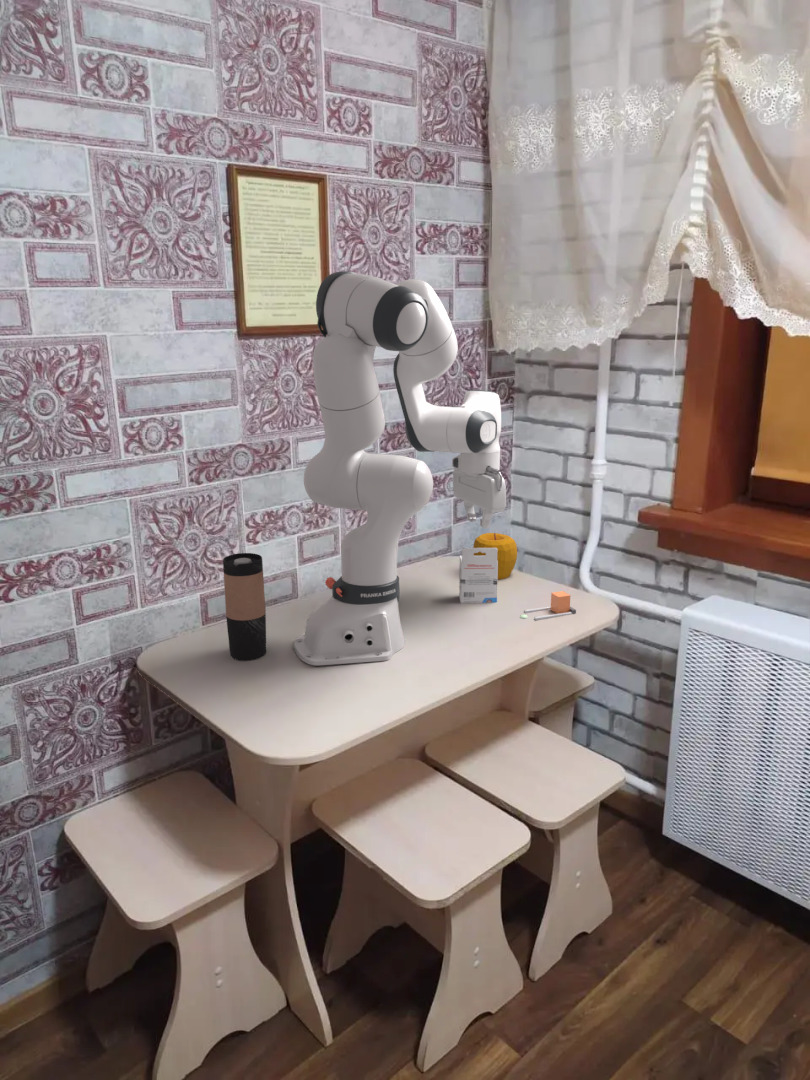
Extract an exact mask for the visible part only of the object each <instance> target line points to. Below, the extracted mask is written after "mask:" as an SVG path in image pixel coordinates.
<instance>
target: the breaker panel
mask: <svg viewBox="0 0 810 1080" xmlns="http://www.w3.org/2000/svg"><path fill="white" fill-rule="evenodd" d="M546 610H551V605H550V606H544V607H537V608H529V609H524V610H523V612H524V613H525V614H521V615H520V616H519V618H520V619H528V617H529V616H528V615H527V614H530V613H535V612H536V613H537V612H541V611H546ZM576 614H577V609H575V608H574V607H572V606H570V612H566V613H559V614H556V613H553V614H546V615H539V616H534V617H533V619H534V620H535V621H541V620H546V619H547V620H548V619H553V618H557V617H563V616H569V615H576Z"/></svg>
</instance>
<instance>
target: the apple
mask: <svg viewBox="0 0 810 1080" xmlns="http://www.w3.org/2000/svg"><path fill="white" fill-rule="evenodd" d="M472 548H497V561H498V577H497V581H499V580H503V579H508V578H509V577H510V575H511V574H512V572H513V570H514V569H515V566H516V563H517V558H518V546H517V543H516V540H515V539H513V538H512V537H511V536H509V535H507V534H503V533H498V532H486V533H483V534H480V535H479V536H477V537H475V539H474V542H473V547H472ZM473 555H474V556H482V555H483V556H484V555H486V553H481V552H478V553H474V554H473Z"/></svg>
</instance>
